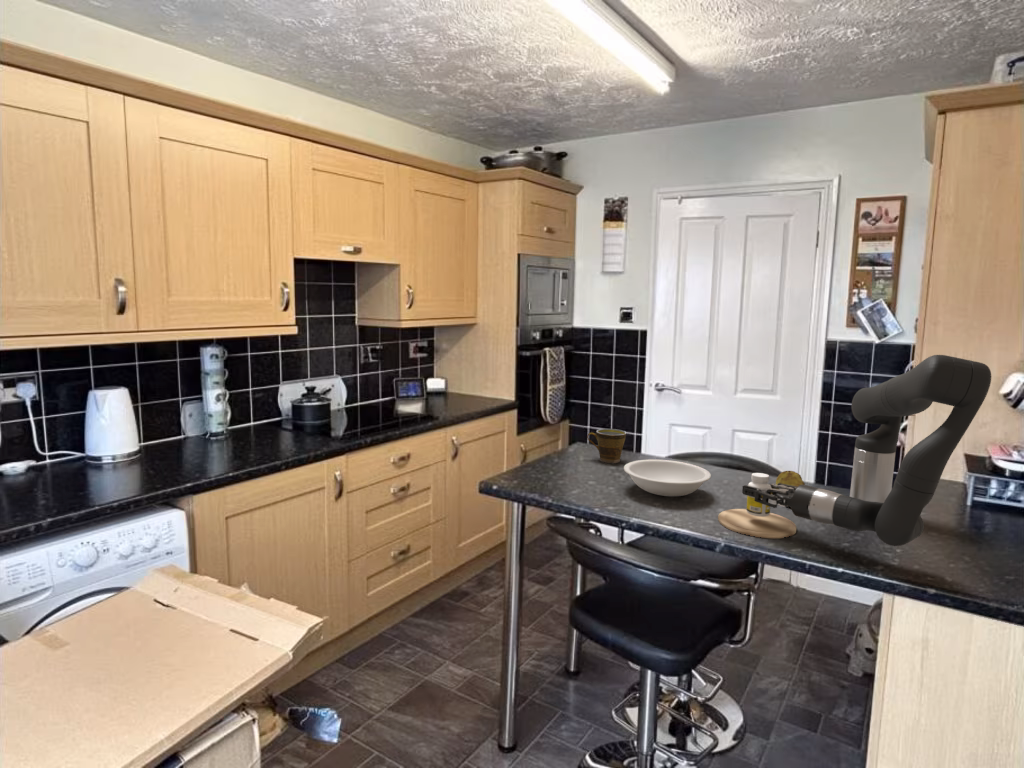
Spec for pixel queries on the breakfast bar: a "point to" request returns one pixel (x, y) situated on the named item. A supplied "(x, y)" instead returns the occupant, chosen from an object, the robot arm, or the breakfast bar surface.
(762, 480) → the supplement bottle
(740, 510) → the round wooden board
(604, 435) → the ceramic cup
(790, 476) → the potato
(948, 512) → the breakfast bar surface
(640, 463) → the soup bowl
